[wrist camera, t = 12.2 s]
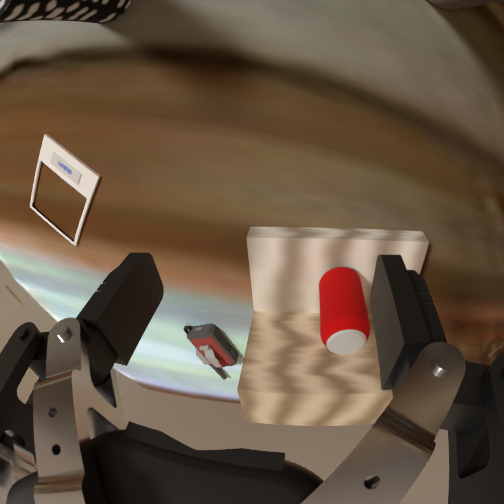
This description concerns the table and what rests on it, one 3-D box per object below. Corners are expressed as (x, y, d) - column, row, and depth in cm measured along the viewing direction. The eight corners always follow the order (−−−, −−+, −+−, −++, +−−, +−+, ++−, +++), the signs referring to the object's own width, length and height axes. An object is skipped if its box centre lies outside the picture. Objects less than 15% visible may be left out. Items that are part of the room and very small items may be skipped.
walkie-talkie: (177, 323, 57) (222, 374, 67) (170, 339, 54) (219, 389, 63) (212, 317, 54) (254, 371, 64) (206, 334, 51) (251, 387, 60)
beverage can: (367, 277, 39) (382, 341, 29) (337, 301, 43) (343, 364, 33) (340, 254, 38) (350, 318, 28) (309, 281, 41) (309, 345, 31)
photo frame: (98, 177, 39) (74, 246, 49) (101, 174, 40) (77, 243, 49) (44, 134, 35) (29, 207, 45) (48, 133, 36) (32, 204, 46)
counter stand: (422, 231, 37) (470, 319, 22) (386, 342, 51) (397, 421, 37) (250, 226, 41) (220, 320, 26) (260, 340, 56) (245, 421, 41)
